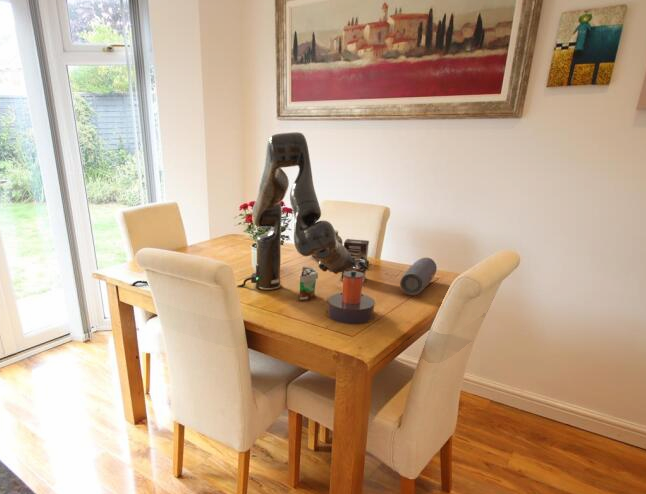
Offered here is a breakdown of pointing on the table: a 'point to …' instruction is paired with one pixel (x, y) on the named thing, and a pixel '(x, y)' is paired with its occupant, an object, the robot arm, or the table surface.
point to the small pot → (352, 287)
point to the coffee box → (356, 251)
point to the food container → (307, 283)
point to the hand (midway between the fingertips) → (349, 270)
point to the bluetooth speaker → (418, 276)
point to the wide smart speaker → (350, 309)
